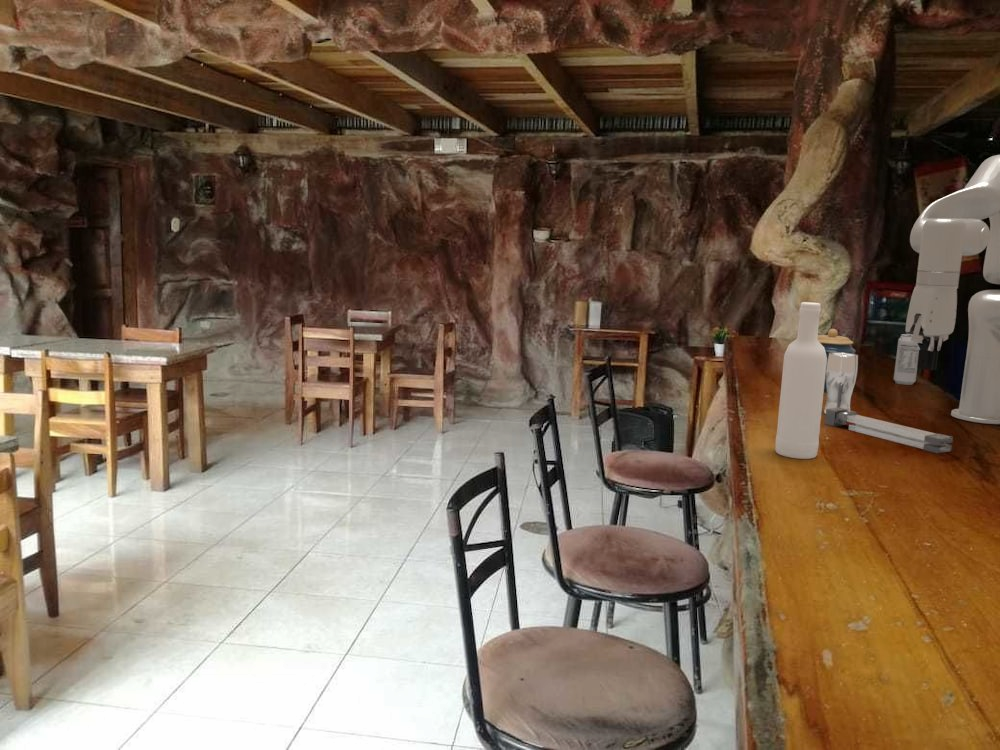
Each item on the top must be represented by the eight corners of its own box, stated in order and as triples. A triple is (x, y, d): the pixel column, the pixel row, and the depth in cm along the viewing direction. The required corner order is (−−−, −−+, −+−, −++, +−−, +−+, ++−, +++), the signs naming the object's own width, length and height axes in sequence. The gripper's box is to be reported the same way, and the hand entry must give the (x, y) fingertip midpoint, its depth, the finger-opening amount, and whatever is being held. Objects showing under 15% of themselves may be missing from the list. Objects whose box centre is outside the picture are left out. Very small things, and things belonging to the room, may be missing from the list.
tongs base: (824, 424, 179) (825, 409, 178) (837, 422, 181) (839, 407, 180) (937, 453, 155) (939, 436, 155) (951, 451, 158) (953, 434, 157)
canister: (793, 385, 228) (799, 326, 224) (829, 384, 231) (835, 326, 228) (823, 394, 215) (830, 331, 212) (861, 392, 219) (868, 331, 216)
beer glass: (855, 418, 186) (862, 357, 183) (825, 416, 187) (831, 355, 184) (848, 412, 192) (855, 353, 190) (819, 410, 194) (825, 351, 191)
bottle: (790, 460, 148) (806, 304, 142) (766, 449, 155) (780, 301, 150) (826, 458, 150) (842, 304, 144) (800, 447, 157) (815, 301, 152)
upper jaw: (835, 421, 176) (836, 411, 175) (848, 419, 178) (849, 409, 178) (938, 447, 155) (939, 436, 155) (952, 445, 158) (953, 434, 157)
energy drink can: (915, 383, 237) (921, 335, 235) (914, 386, 232) (920, 336, 230) (894, 380, 240) (899, 333, 238) (892, 383, 235) (898, 335, 233)
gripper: (941, 278, 162) (930, 364, 166) (897, 279, 155) (887, 368, 159) (977, 281, 156) (965, 369, 159) (933, 282, 149) (921, 374, 152)
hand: (926, 369), depth 159 cm, fingers closed
